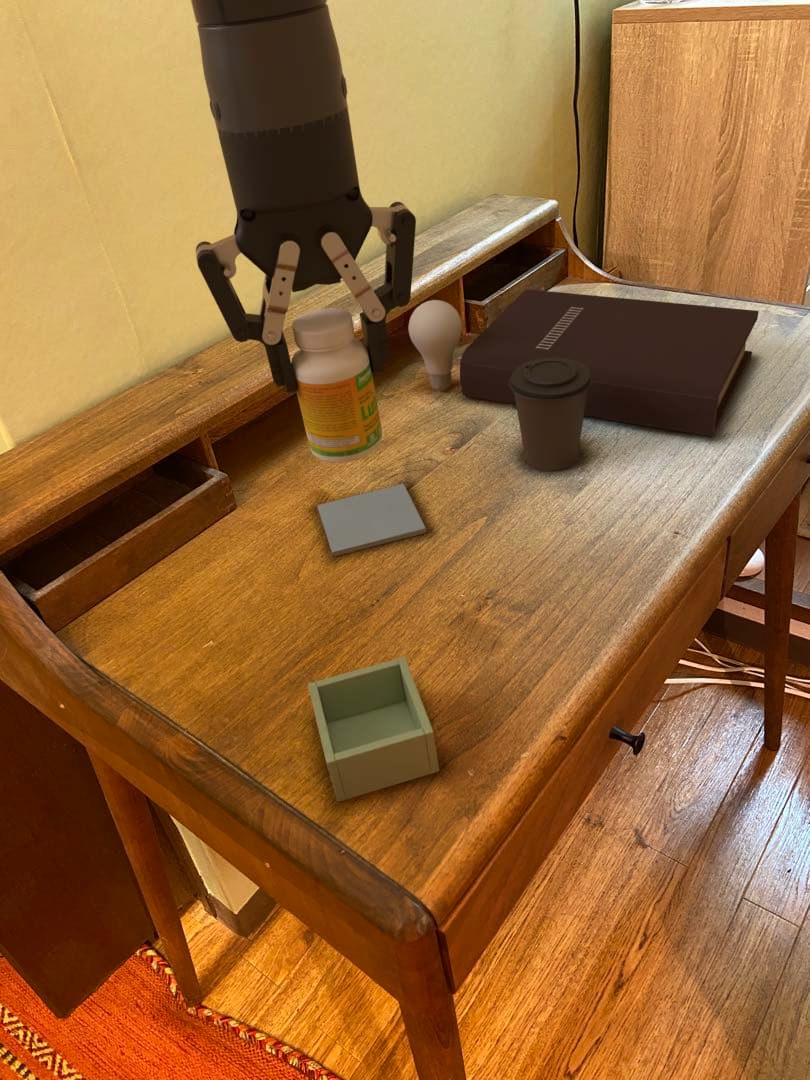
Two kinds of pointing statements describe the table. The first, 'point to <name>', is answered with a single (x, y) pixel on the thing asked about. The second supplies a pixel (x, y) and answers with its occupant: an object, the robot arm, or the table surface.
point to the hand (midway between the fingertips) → (332, 376)
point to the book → (620, 355)
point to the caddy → (373, 728)
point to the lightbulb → (436, 339)
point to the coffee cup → (551, 410)
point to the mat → (370, 519)
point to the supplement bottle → (335, 387)
